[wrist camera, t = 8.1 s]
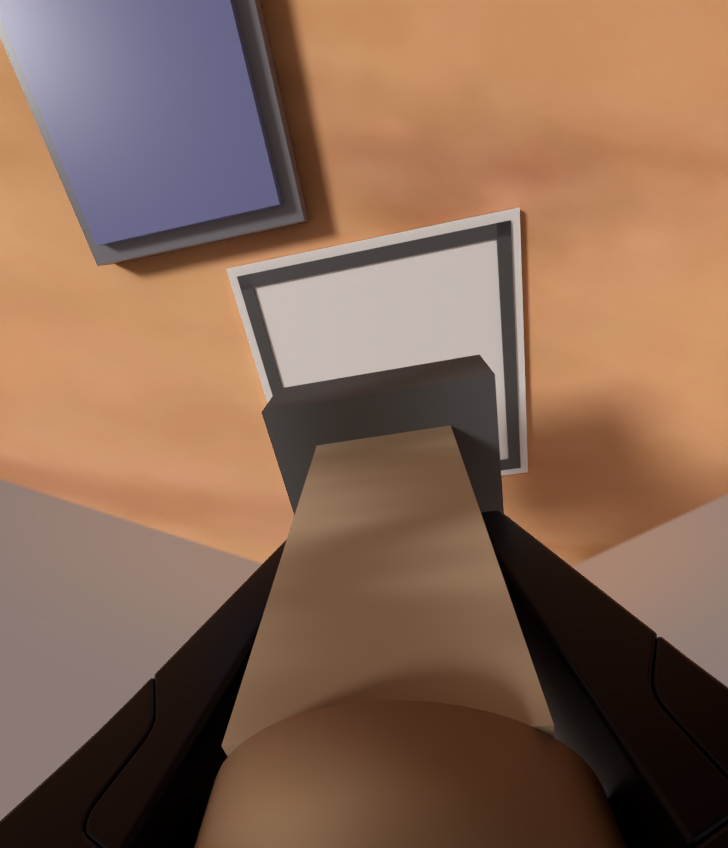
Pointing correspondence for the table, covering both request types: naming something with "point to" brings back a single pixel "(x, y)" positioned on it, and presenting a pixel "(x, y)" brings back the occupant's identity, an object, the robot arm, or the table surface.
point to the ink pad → (158, 119)
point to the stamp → (395, 641)
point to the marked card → (396, 311)
